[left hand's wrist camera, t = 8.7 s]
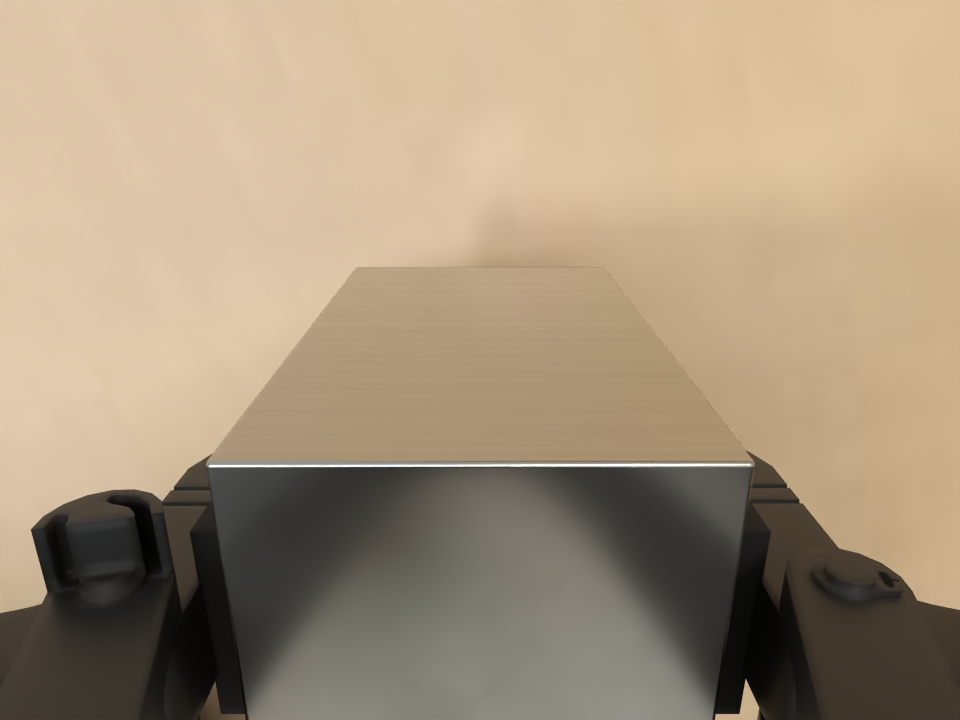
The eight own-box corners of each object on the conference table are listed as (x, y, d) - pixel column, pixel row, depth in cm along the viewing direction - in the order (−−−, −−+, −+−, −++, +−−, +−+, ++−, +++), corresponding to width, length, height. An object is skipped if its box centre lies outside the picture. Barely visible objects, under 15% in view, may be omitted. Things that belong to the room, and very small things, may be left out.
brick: (370, 504, 16) (268, 875, 8) (355, 266, 14) (203, 463, 6) (589, 504, 16) (692, 876, 8) (604, 266, 14) (757, 462, 6)
